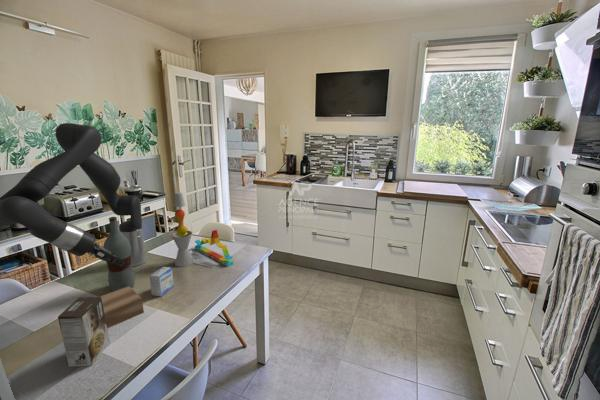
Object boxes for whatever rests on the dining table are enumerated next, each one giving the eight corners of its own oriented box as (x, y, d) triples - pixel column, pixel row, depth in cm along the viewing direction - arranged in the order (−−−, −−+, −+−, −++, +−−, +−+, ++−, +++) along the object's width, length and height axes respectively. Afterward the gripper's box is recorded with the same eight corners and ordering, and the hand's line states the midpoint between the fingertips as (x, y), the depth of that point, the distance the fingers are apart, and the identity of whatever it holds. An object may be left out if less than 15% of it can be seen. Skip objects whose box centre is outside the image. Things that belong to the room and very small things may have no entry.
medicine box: (161, 297, 112) (159, 276, 109) (151, 295, 112) (149, 275, 110) (174, 286, 119) (172, 267, 117) (164, 285, 120) (162, 266, 118)
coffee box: (88, 343, 87) (79, 296, 83) (110, 342, 88) (102, 295, 84) (67, 367, 79) (56, 316, 75) (92, 366, 79) (82, 315, 75)
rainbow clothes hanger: (194, 249, 156) (192, 223, 152) (199, 247, 158) (197, 221, 154) (227, 267, 136) (226, 238, 133) (233, 265, 139) (232, 236, 135)
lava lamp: (170, 263, 138) (163, 193, 130) (186, 256, 146) (181, 189, 137) (181, 268, 134) (175, 195, 125) (198, 261, 141) (193, 192, 132)
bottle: (141, 284, 120) (131, 216, 112) (119, 295, 112) (108, 222, 104) (126, 279, 124) (116, 212, 116) (104, 289, 115) (92, 219, 108)
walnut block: (94, 314, 101) (91, 299, 99) (131, 300, 110) (129, 285, 108) (105, 330, 93) (102, 314, 92) (143, 313, 102) (142, 298, 101)
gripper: (89, 234, 86) (134, 256, 97) (74, 224, 94) (117, 246, 106) (70, 256, 83) (119, 276, 95) (56, 244, 91) (102, 264, 103)
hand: (118, 260), depth 100 cm, fingers open, 8 cm apart
